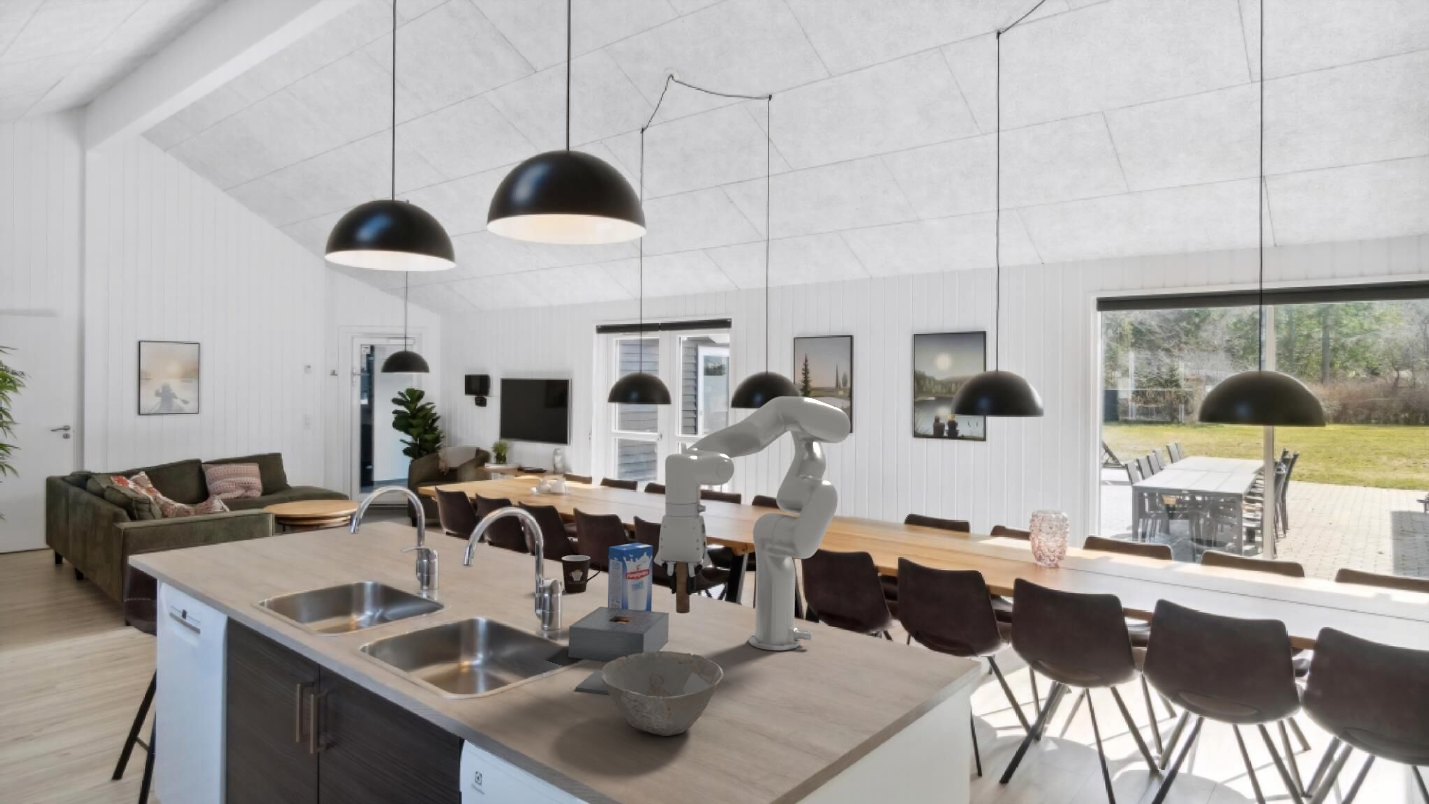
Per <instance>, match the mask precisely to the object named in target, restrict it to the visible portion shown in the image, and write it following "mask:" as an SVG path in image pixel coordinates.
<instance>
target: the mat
mask: <svg viewBox="0 0 1429 804" xmlns="http://www.w3.org/2000/svg"><path fill="white" fill-rule="evenodd" d="M575 691H578V692H586V693H594V694H602V695H609V696H610V694H609V693H608V691H607V689H606V687H605V685H604V683H603V680H602V678H601V670H600V671H599V670H595V671H593V672H592V673H591V674H590V675H588V676H587V677H586V678H585V679H584V680H582V682H580V683H579V684H578V685H577V686H575Z"/></svg>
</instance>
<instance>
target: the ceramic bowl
mask: <svg viewBox="0 0 1429 804" xmlns="http://www.w3.org/2000/svg"><path fill="white" fill-rule="evenodd" d="M601 668H602V669H601V670H600V672H601V678H602V680H603V683H604V685H605V687H606V689H607V691H608V693H609V694H610V695H609V694H608V695H609V696H610V699H611V700H612V702H613V703H614V705H615V707H616V709H617V710H618V711H619V712H620V714H621V716H623V718H624V719H625V720H626V722H627V723H628V724H629V725H630V726H632V727H633V728H635V729H637V730H639V731H643V732H645V733H650V734H653V735H658V736H662V737H670V736H675V735H680V734H683V733H685V732H686V731H688V730H689V729H690V728H691V727H693V725H694V724H695V723H696V722H697V720H698V719H699V718H700V717H701V716H702V714H703V713H704V711H705V709H706V708H707V706H708V705H709V702H710V700H711V699H712V697H713V695H714V693H715V692H716V690H717V688H718V686H719V684H720V683H721V681H722V680H723V678H724V672H723V669H722V668H721V666H720V665H719V664H717V663H716V662H714V661H712V660H710V659H709V658H707V657H704V656H703V655H699V654H695V653H694V654H691V652H690V653H685V652H677V651H665V650H662V651H661V650H659V651H657V652H654V651H653V652H652V653H650V652H643V653H641V654H639V653H636V654H632V655H628V657H625V656H624V657H620V658H617V659H615V660H613V661H610V662H607V663H606V664H604V666H602V667H601Z"/></svg>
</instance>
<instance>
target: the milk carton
mask: <svg viewBox="0 0 1429 804" xmlns="http://www.w3.org/2000/svg"><path fill="white" fill-rule="evenodd" d="M653 549H654V546H653V545H652V544H651V545H650V544H646V543H642V542H641V543H640V542H632V543H627V544H621V545H614V546H609V547H608V580H607V581H608V582H607V583H608V584H607V586H608V587H607V607H610V608H621V609H631V610H642V611H652V604H653V603H652V601H653V599H652V598H653V596H652V595H653V556H654V555H653Z"/></svg>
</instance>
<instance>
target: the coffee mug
mask: <svg viewBox="0 0 1429 804" xmlns="http://www.w3.org/2000/svg"><path fill="white" fill-rule="evenodd" d="M590 561H591V557H590V556H588V555H584V554H583V555H582V554H579V555H576V554H575V555H573V554H571V555H566V556H562V557H561V564H562V576H563V586H564V592H565V591H566V592H565V593H568V594H582V593H585V592H586V591H587V585H588V582H589V581H591V580H592V579H594V578H595V577H597V576H598V575H599V574H600V573H601V572H602V570H603V565H602V563H601V562H600V561H598V560H594V561H592V562H590ZM594 564H598V565H599V567H600V569H599V570H598V572H596V573H595V574H593V575H592V576H590V577H589V570H590V568H591V567H592V565H594Z"/></svg>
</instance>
